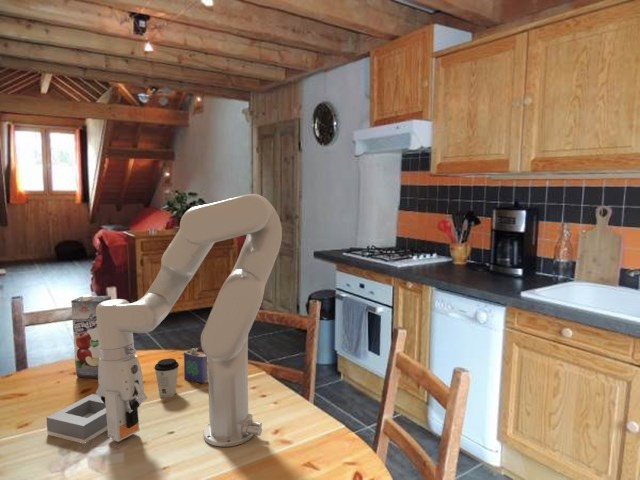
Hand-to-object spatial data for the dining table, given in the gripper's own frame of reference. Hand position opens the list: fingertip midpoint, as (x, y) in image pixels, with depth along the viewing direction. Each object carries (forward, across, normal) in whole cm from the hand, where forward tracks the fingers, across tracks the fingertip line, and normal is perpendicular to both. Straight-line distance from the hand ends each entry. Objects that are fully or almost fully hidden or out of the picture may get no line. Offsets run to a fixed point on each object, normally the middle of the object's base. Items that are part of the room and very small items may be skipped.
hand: (123, 423), depth 111 cm
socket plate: (+3, +13, -2) cm, 14 cm away
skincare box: (+3, 0, 0) cm, 3 cm away
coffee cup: (+4, +6, -24) cm, 25 cm away
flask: (+4, +4, -34) cm, 35 cm away
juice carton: (+3, +38, -28) cm, 47 cm away
